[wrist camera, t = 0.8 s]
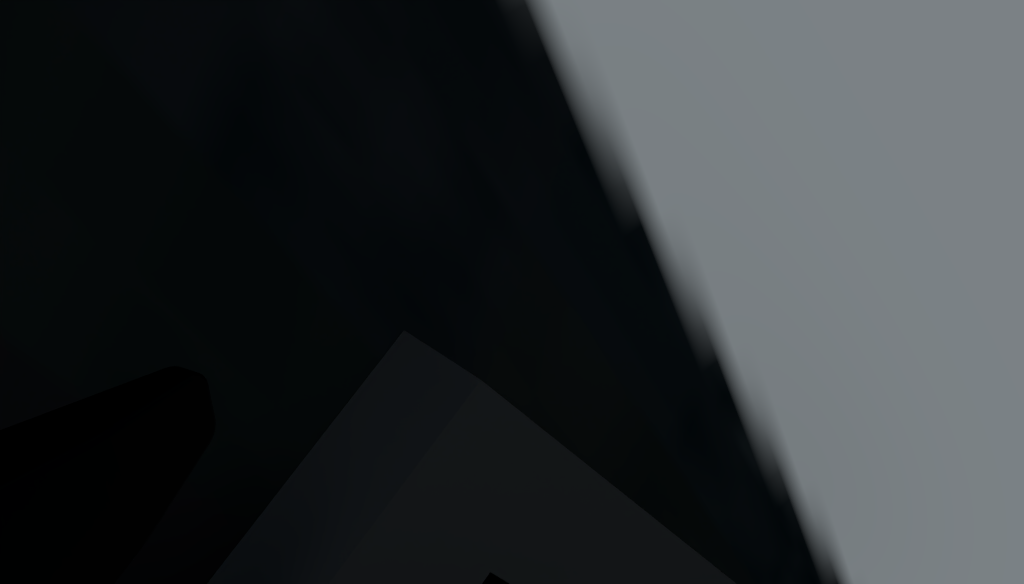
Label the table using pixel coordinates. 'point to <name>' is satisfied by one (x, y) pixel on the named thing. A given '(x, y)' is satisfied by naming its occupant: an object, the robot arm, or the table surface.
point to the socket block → (450, 497)
